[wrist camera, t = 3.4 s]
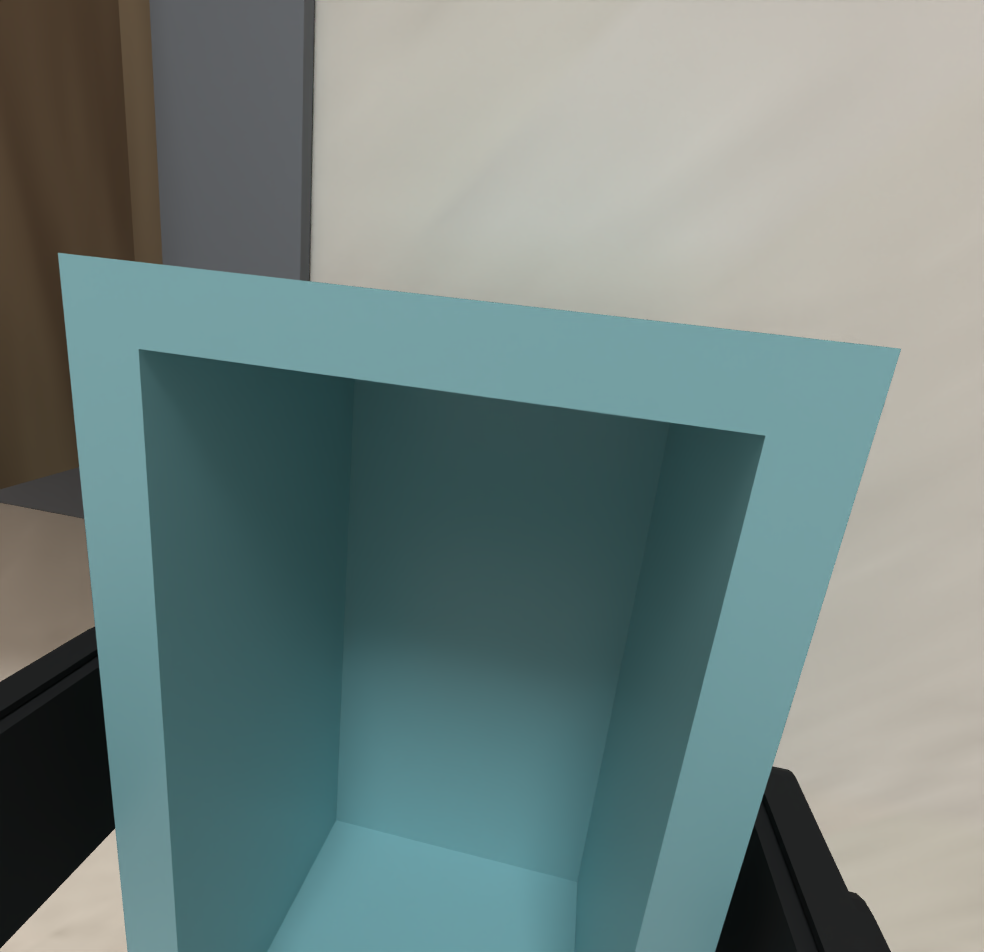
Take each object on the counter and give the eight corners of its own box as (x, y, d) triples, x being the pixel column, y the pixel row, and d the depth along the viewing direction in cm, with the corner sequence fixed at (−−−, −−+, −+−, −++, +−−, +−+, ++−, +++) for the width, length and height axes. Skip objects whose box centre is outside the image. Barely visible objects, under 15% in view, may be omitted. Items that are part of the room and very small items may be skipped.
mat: (322, -448, 9) (310, -481, 9) (303, 552, 14) (296, 558, 14) (-334, -396, 11) (-366, -420, 11) (-147, 468, 16) (-165, 471, 16)
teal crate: (713, 330, 11) (900, 349, 4) (605, 831, 15) (611, 1285, 8) (366, 290, 12) (58, 252, 5) (344, 768, 16) (144, 1120, 9)
